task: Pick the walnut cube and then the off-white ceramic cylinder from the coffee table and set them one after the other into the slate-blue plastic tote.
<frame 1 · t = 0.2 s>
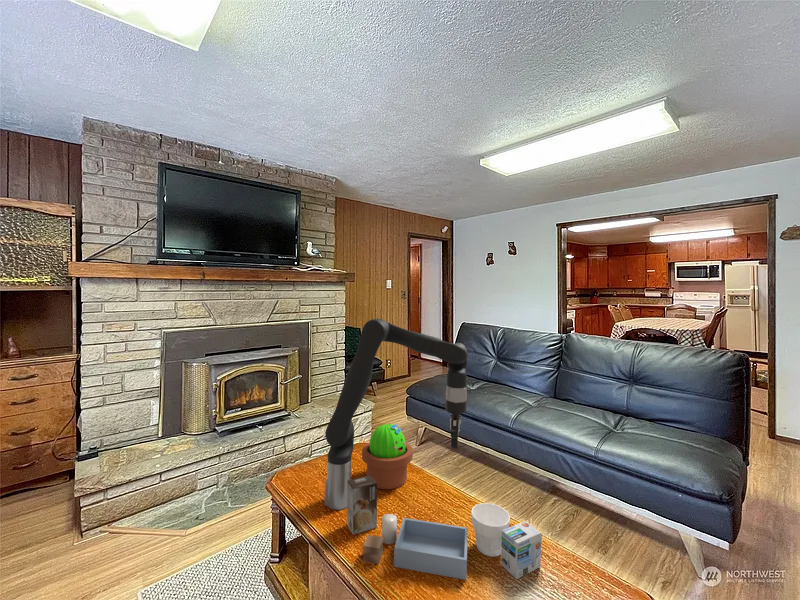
hand: (454, 442, 128), 29 cm above the table, fingers open, 8 cm apart
coffee box: (361, 526, 124), on the table
cube: (373, 557, 110), on the table
cylinder: (389, 539, 118), on the table
light bulb box: (520, 566, 107), on the table
potted cactus: (386, 479, 156), on the table
cup: (489, 547, 115), on the table
tote: (432, 555, 111), on the table
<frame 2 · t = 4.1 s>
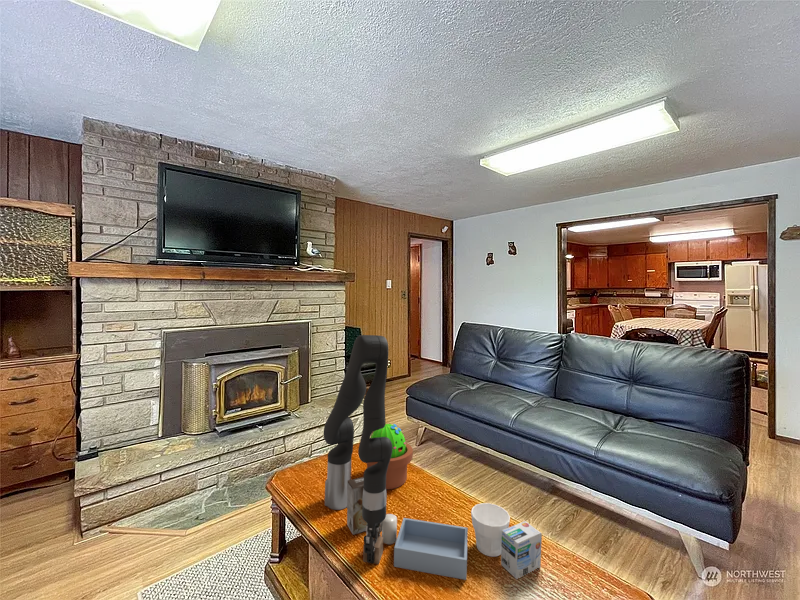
hand: (373, 555, 110), 0 cm above the table, fingers closed on cube, 5 cm apart
cube: (373, 556, 110), on the table, touching gripper
everything else where it was.
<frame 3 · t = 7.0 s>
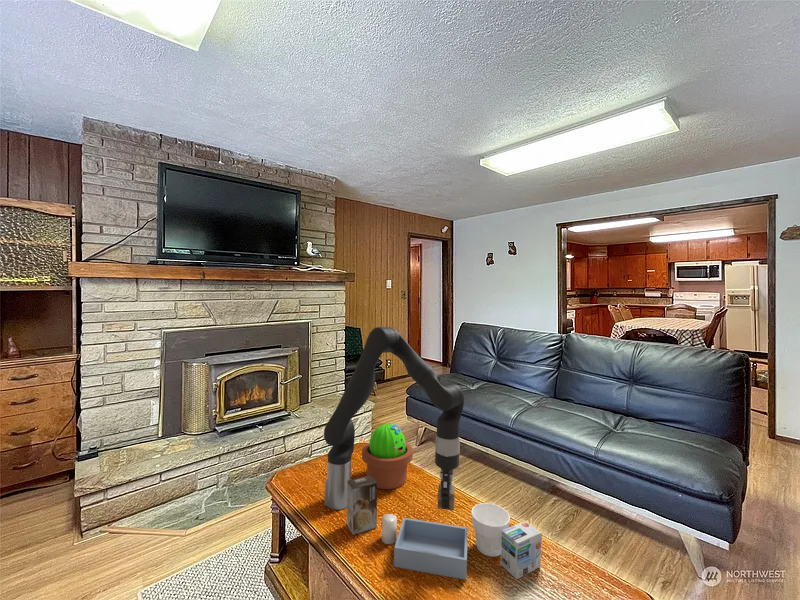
hand: (446, 503, 110), 17 cm above the table, fingers closed on cube, 5 cm apart
cube: (446, 504, 110), point 17 cm above the table, touching gripper
everything else where it was.
when the fingers open (2 cm above the table, at t = 10.2 s): cube drops 1 cm, resting on tote.
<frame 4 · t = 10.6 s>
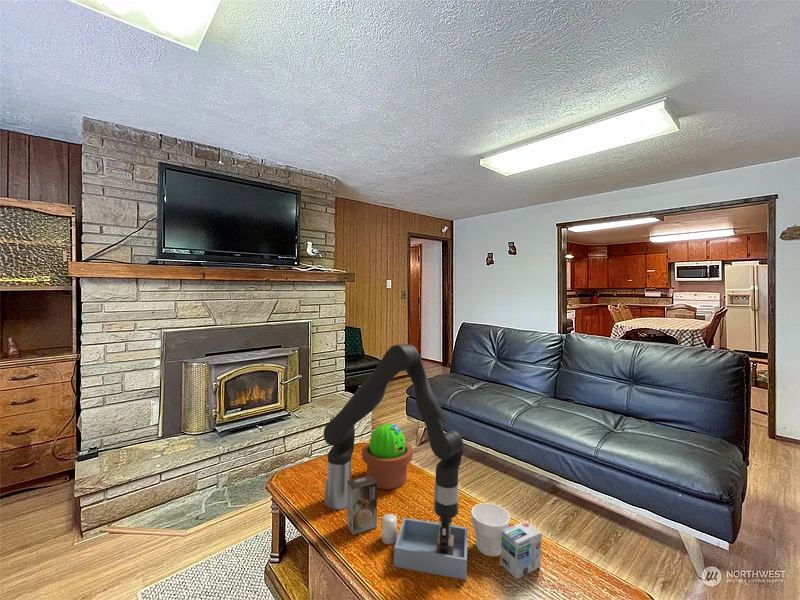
hand: (445, 547, 110), 3 cm above the table, fingers open, 8 cm apart
cube: (444, 554, 110), point 1 cm above the table, touching tote
everything else where it was.
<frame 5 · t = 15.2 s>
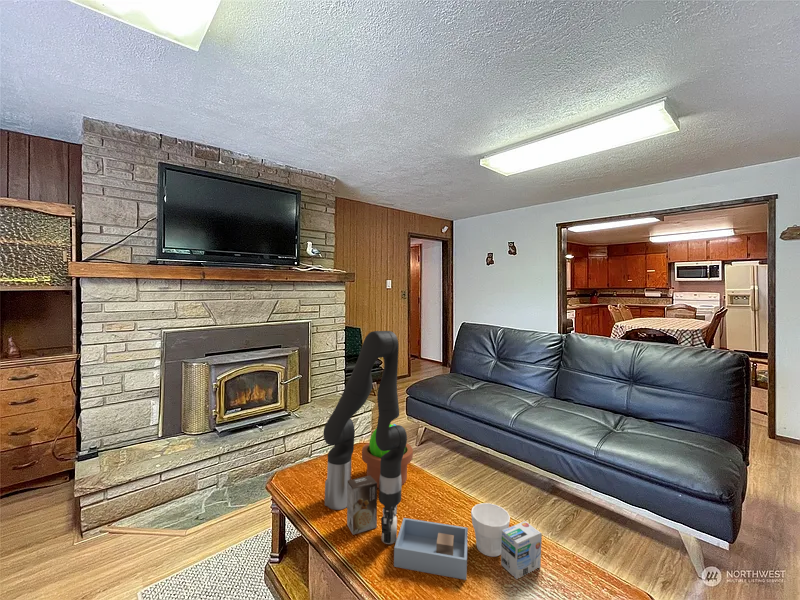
hand: (389, 536, 118), 1 cm above the table, fingers closed on cylinder, 5 cm apart
cylinder: (389, 539, 118), on the table, touching gripper
everything else where it was.
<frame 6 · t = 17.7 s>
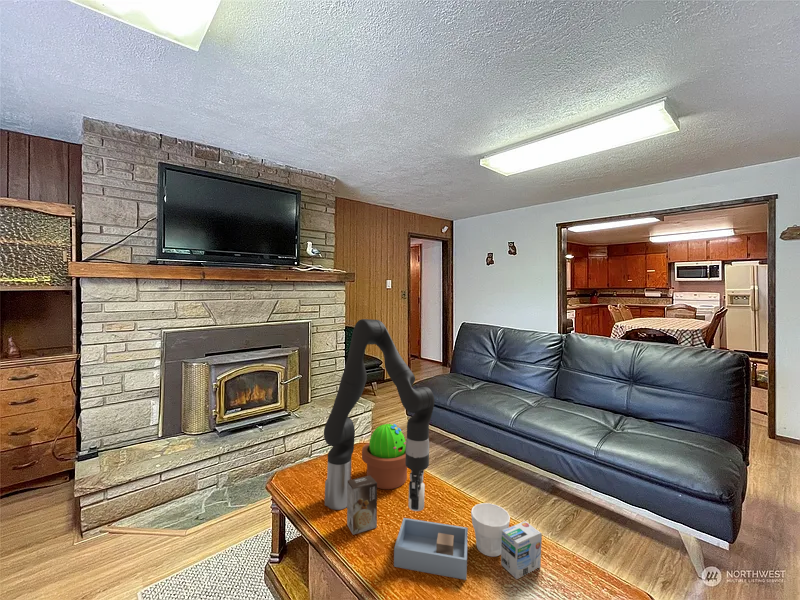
hand: (416, 503, 112), 16 cm above the table, fingers closed on cylinder, 5 cm apart
cylinder: (416, 506, 112), point 15 cm above the table, touching gripper
everything else where it was.
when the fingers open (3 cm above the table, at t = 20.3 s): cylinder drops 1 cm, resting on tote.
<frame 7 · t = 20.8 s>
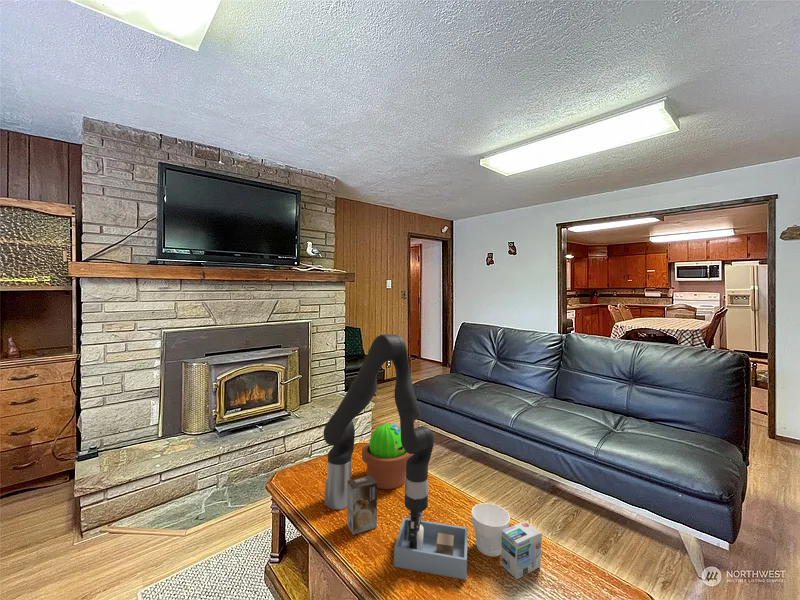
hand: (415, 541, 112), 4 cm above the table, fingers open, 8 cm apart
cylinder: (415, 549, 112), point 1 cm above the table, touching tote
everything else where it was.
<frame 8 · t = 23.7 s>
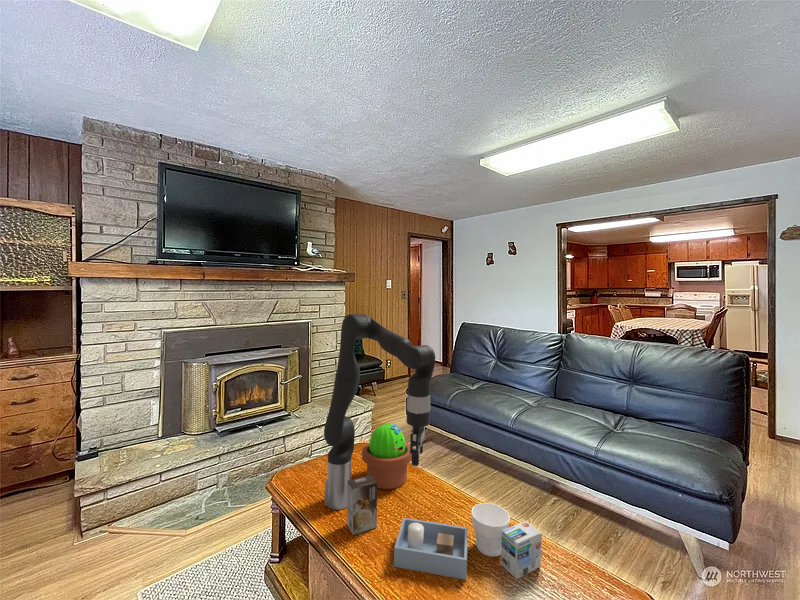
hand: (417, 458, 112), 30 cm above the table, fingers open, 8 cm apart
nothing on the table moved.
at the end: cube inside the target area on the tote (4.0 cm from its centre), point 0.8 cm above the tote's base; cylinder inside the target area on the tote (5.5 cm from its centre), point 0.9 cm above the tote's base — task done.
